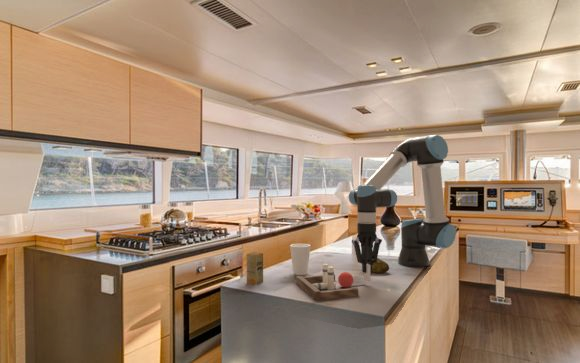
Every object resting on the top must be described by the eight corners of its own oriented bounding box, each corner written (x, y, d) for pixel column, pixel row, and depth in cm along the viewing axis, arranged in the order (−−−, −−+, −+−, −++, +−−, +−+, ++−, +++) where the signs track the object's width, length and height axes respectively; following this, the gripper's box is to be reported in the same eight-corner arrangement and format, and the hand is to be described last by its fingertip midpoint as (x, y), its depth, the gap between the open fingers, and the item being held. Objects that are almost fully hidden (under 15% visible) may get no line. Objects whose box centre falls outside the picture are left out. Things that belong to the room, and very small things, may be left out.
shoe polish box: (263, 281, 144) (263, 253, 144) (256, 284, 140) (256, 255, 140) (253, 280, 146) (253, 252, 147) (246, 282, 142) (246, 254, 142)
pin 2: (332, 289, 133) (332, 266, 133) (335, 291, 130) (335, 267, 130) (326, 290, 132) (326, 266, 132) (329, 291, 129) (329, 268, 130)
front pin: (333, 281, 136) (312, 282, 133) (336, 282, 133) (314, 284, 131) (333, 287, 135) (312, 289, 133) (336, 289, 133) (314, 290, 131)
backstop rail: (333, 279, 146) (333, 272, 146) (358, 295, 125) (358, 287, 125) (296, 283, 141) (296, 276, 141) (315, 300, 120) (315, 291, 120)
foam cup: (313, 272, 160) (313, 244, 160) (306, 276, 151) (305, 247, 151) (295, 269, 164) (295, 243, 164) (286, 274, 155) (286, 246, 155)
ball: (332, 279, 137) (342, 288, 138) (339, 283, 131) (350, 292, 133) (341, 267, 138) (351, 276, 140) (348, 271, 132) (358, 280, 134)
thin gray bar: (364, 284, 139) (364, 284, 139) (365, 285, 138) (365, 284, 138) (346, 286, 136) (346, 286, 136) (347, 287, 135) (347, 286, 135)
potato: (381, 275, 152) (381, 258, 152) (357, 270, 162) (357, 254, 162) (391, 272, 158) (390, 255, 158) (367, 267, 167) (367, 251, 167)
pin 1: (327, 285, 137) (327, 263, 138) (329, 287, 135) (329, 264, 135) (321, 286, 137) (321, 264, 137) (324, 288, 134) (323, 265, 134)
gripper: (375, 221, 144) (376, 276, 144) (348, 222, 141) (348, 279, 140) (385, 222, 137) (386, 281, 137) (356, 224, 133) (357, 284, 133)
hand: (367, 280), depth 139 cm, fingers closed
